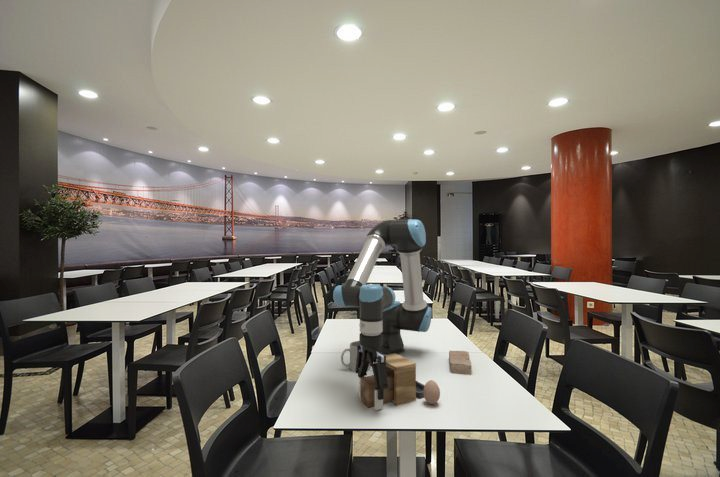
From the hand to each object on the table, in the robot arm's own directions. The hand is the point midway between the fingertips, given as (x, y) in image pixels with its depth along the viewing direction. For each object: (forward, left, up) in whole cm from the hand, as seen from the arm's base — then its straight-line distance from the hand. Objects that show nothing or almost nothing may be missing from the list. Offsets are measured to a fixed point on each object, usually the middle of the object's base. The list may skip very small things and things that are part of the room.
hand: (370, 402), depth 108 cm
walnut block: (0, +5, 0) cm, 5 cm away
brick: (-8, +50, -1) cm, 51 cm away
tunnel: (0, +10, 0) cm, 10 cm away
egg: (+10, +17, 0) cm, 20 cm away
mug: (-29, +11, 0) cm, 31 cm away
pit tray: (0, +19, 0) cm, 19 cm away
